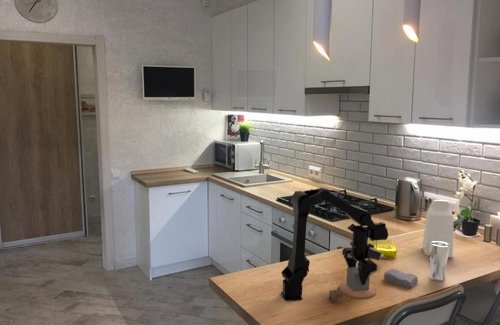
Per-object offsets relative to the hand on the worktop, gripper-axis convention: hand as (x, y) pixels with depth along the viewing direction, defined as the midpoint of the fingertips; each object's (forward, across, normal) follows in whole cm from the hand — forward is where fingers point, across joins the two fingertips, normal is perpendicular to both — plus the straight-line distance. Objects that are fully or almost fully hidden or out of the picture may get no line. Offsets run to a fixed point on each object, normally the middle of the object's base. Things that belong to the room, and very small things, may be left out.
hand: (357, 279), depth 169 cm
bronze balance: (+4, +17, -13) cm, 22 cm away
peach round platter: (+4, 0, 0) cm, 4 cm away
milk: (+4, +33, -57) cm, 66 cm away
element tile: (+5, +38, -28) cm, 47 cm away
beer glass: (+4, +5, -38) cm, 39 cm away
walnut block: (+4, -7, +12) cm, 15 cm away
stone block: (+5, +5, -22) cm, 23 cm away
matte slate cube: (+3, 0, 0) cm, 3 cm away
